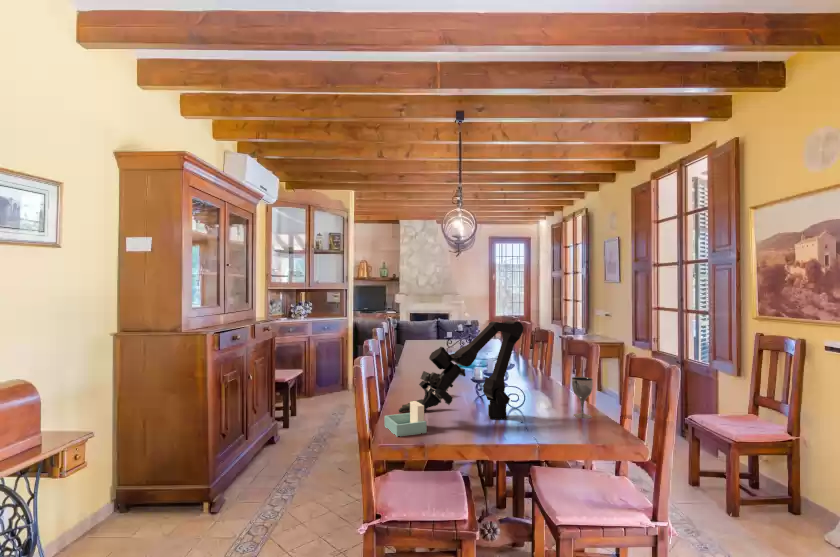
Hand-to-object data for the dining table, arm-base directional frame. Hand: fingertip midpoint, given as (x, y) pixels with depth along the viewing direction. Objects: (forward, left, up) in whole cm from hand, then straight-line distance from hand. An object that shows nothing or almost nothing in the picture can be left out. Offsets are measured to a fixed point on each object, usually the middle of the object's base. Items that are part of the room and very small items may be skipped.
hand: (420, 409), depth 177 cm
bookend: (+5, +2, -7) cm, 8 cm away
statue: (+1, -23, -7) cm, 24 cm away
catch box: (+5, +3, -7) cm, 9 cm away
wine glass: (-64, -19, -7) cm, 67 cm away
